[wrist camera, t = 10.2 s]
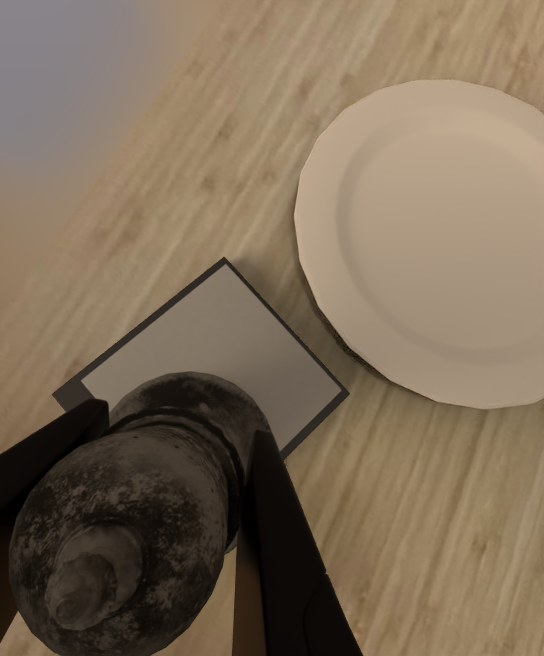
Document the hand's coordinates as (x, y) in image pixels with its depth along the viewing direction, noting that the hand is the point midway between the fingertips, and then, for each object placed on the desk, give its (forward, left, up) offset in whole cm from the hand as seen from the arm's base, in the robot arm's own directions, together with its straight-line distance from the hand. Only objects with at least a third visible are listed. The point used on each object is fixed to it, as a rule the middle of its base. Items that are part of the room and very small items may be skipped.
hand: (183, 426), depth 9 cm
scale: (0, +1, -11) cm, 11 cm away
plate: (+18, -2, -11) cm, 21 cm away
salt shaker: (-1, -1, -7) cm, 7 cm away
